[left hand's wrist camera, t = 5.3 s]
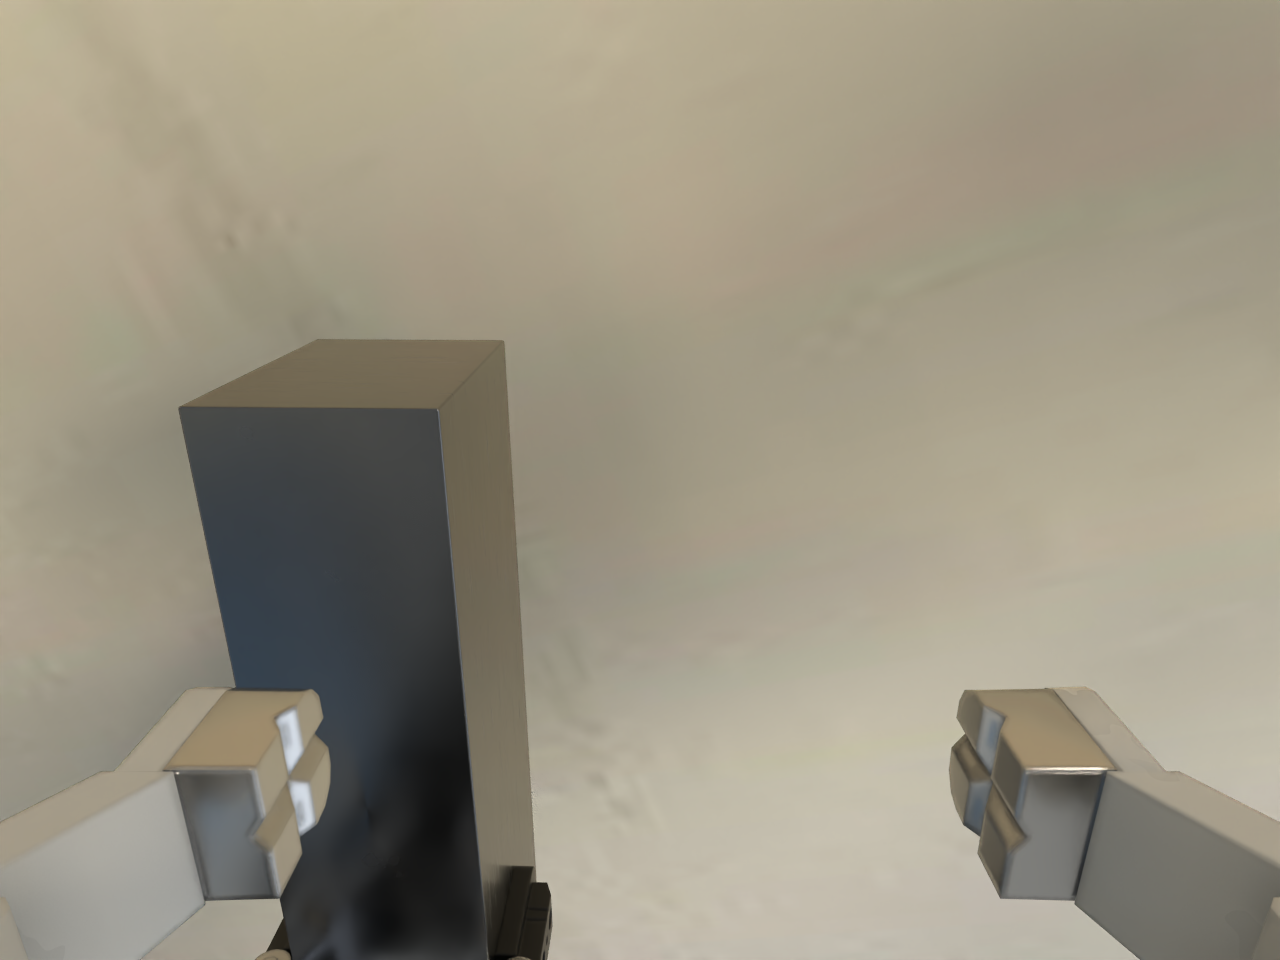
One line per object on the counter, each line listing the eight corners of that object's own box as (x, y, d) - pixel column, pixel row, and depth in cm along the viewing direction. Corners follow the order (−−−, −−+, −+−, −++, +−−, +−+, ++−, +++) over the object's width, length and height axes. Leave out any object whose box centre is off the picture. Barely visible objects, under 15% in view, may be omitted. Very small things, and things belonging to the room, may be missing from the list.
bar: (316, 338, 26) (176, 407, 18) (504, 340, 26) (438, 409, 18) (393, 886, 34) (317, 1084, 26) (537, 889, 33) (500, 1090, 26)
